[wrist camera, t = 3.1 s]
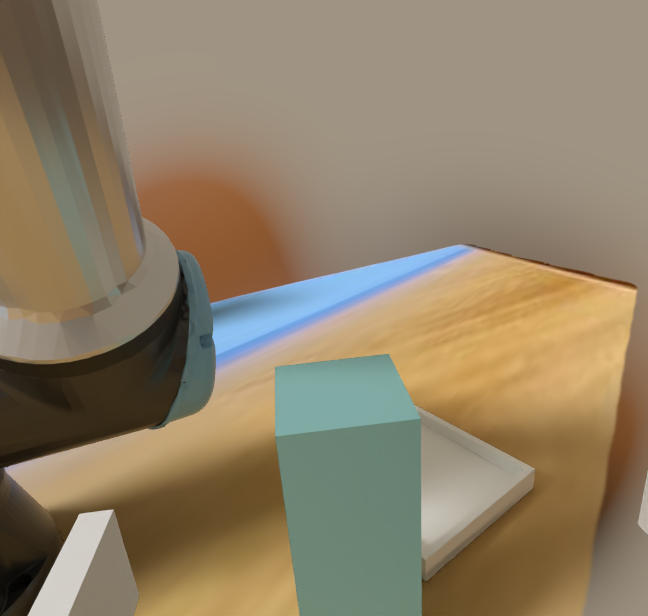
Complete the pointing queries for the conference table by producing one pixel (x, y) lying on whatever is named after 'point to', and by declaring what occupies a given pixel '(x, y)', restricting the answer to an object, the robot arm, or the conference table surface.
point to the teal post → (351, 486)
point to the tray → (462, 489)
